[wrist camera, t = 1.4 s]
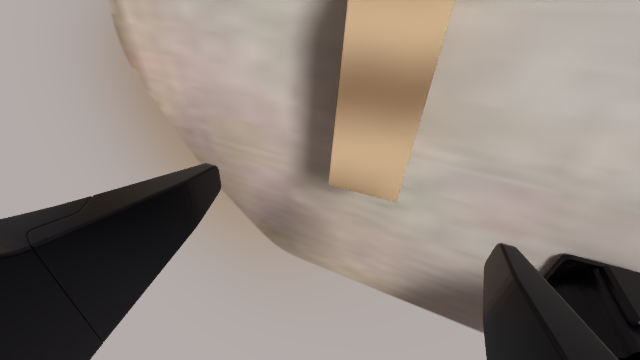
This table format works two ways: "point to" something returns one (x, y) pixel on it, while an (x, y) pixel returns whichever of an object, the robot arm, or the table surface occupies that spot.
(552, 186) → the table surface
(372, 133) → the bed rail
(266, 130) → the table surface
